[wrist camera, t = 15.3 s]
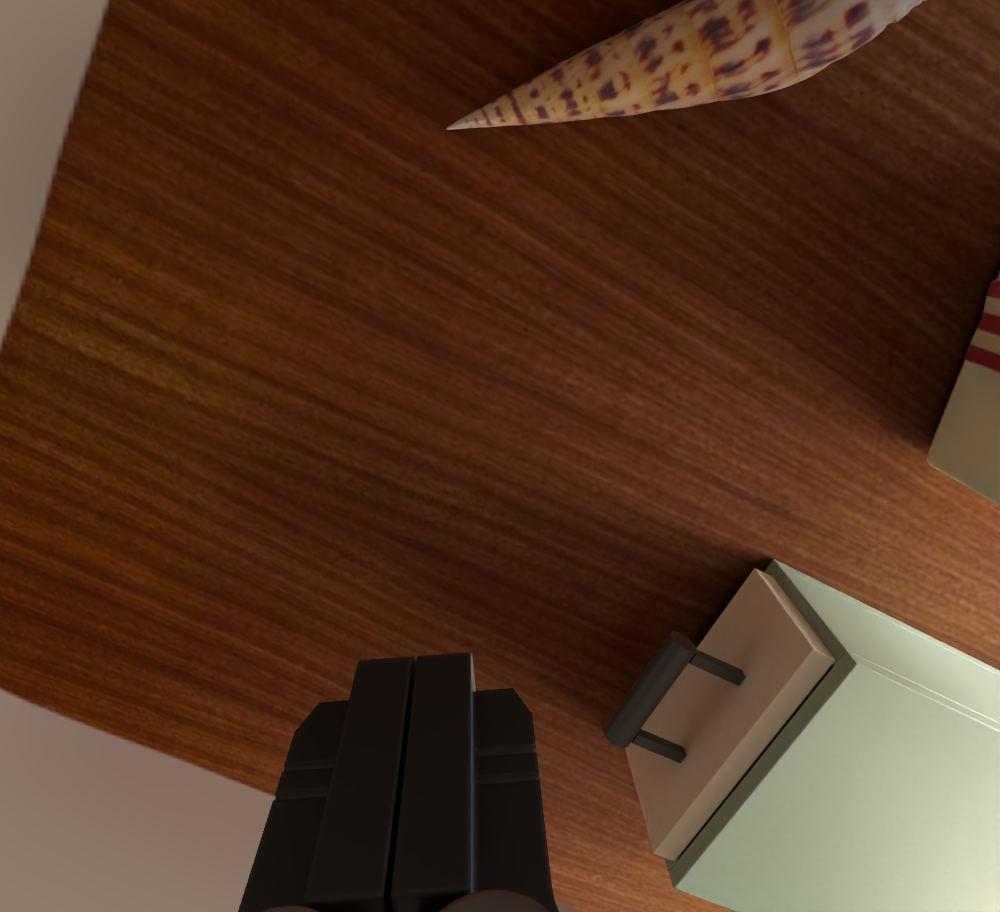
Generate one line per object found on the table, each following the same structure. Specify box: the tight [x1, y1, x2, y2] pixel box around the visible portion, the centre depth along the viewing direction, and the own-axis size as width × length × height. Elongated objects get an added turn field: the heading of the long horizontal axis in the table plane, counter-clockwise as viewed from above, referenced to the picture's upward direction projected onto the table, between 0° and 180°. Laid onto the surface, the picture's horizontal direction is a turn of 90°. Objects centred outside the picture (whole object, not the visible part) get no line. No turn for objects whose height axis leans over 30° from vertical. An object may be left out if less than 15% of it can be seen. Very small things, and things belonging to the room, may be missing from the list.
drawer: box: [603, 568, 835, 861], centre depth 37 cm, size 21×13×7 cm, turn 62°
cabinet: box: [665, 559, 1000, 912], centre depth 38 cm, size 18×14×9 cm
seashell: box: [446, 0, 927, 130], centre depth 28 cm, size 4×18×5 cm, turn 104°
